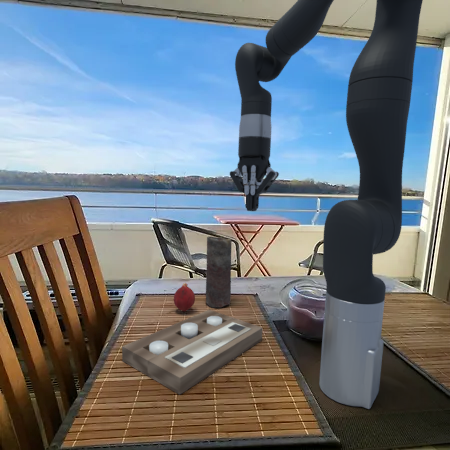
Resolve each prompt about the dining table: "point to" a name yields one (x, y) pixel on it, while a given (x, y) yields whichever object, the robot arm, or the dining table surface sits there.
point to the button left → (158, 347)
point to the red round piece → (184, 298)
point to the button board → (192, 350)
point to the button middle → (189, 330)
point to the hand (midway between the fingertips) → (251, 210)
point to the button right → (214, 320)
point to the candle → (218, 272)
